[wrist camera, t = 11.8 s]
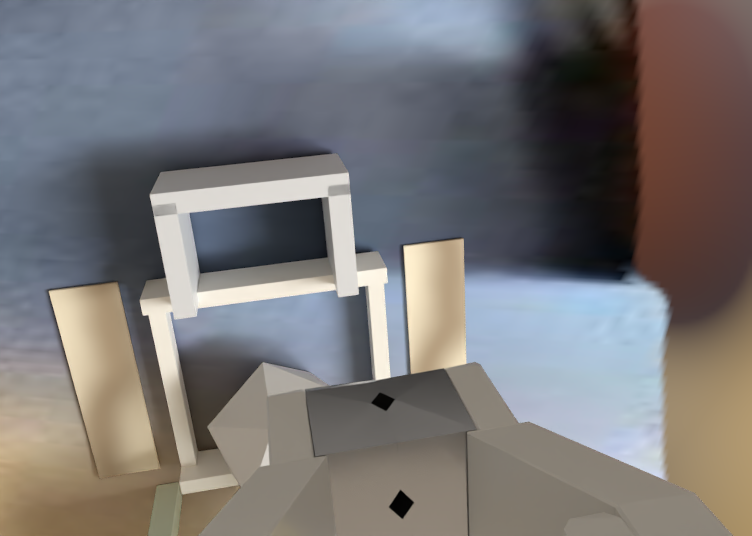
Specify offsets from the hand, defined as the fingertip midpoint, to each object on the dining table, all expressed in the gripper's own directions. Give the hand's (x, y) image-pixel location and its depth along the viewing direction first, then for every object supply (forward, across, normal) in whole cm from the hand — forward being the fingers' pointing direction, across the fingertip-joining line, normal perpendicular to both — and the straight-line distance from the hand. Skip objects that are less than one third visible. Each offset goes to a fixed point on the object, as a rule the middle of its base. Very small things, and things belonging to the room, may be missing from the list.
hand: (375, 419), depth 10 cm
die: (+33, +2, +20) cm, 39 cm away
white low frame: (+33, +2, +14) cm, 36 cm away
